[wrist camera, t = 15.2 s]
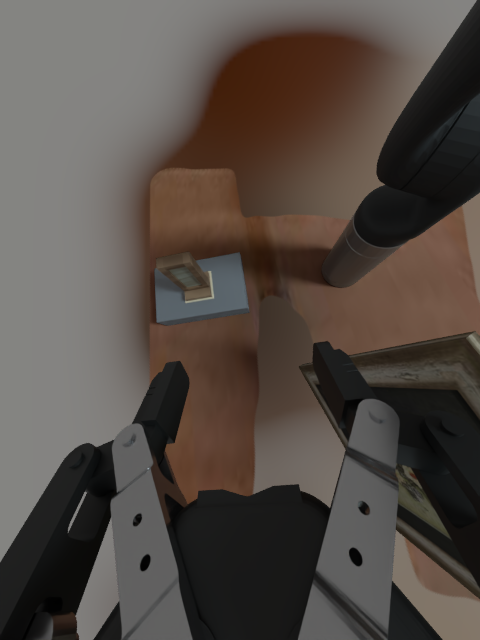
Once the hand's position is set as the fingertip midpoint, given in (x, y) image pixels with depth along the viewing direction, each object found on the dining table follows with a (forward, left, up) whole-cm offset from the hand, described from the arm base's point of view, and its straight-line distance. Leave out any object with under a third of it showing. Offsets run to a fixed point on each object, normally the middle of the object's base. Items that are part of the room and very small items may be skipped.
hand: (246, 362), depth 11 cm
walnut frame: (+1, -22, -29) cm, 37 cm away
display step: (+1, -22, -35) cm, 41 cm away
